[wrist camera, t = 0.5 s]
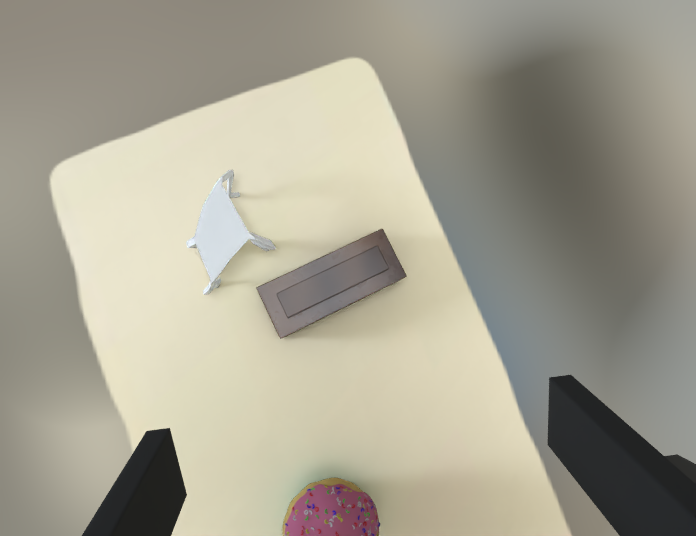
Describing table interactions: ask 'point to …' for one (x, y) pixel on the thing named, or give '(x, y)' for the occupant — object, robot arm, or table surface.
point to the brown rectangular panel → (331, 283)
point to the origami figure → (222, 231)
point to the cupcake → (331, 511)
